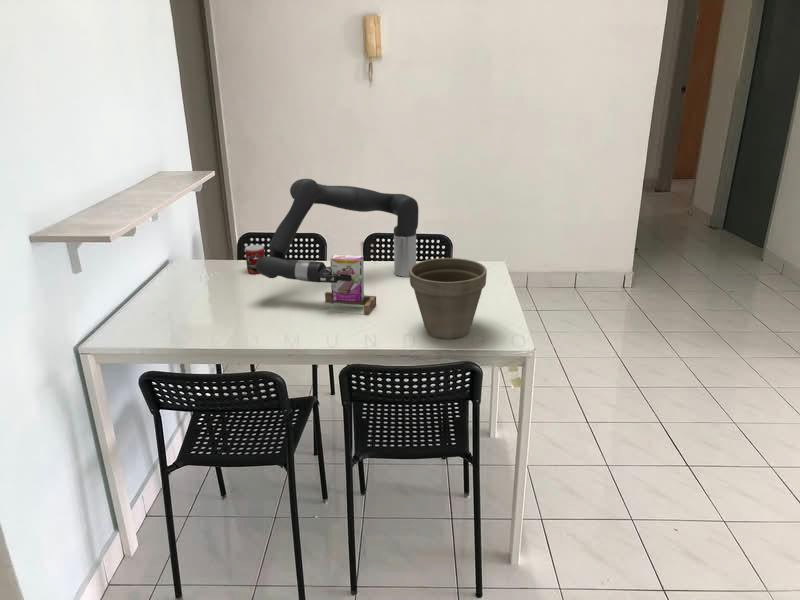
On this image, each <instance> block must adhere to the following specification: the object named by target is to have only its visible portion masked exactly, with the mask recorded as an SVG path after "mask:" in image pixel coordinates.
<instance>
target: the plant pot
mask: <svg viewBox="0 0 800 600" xmlns="http://www.w3.org/2000/svg"><path fill="white" fill-rule="evenodd" d="M487 271H488V270H487V268H486V266H485V265H484V264H482V263H480V262H478V261H475V260H470V259H466V258H457V257H440V258H431V259H425V260H422V261H418V262H416V264H414V265H413V266H411V267H410V269H409V276H410V277H409V284H410V286H411V288H412V289H413V291H414V295H415V298H416V301H417V305H418V308H419V312H420V314H421V319H422V322H423V326H424V328H425V330H426V332H427V334H428V335H430V336H432V337H433V338H437V339H438V338H439V339H443V340H444V339H445V340H448V339H449V340H453V339H460V338H463V337H464V336H466V335H467V334H469V333H470V330H471V328H472V325H473V321H474V318H475V316H476V315H475V314H476V312H477V308H478V304H479V302H480V298H481V295H482V292H483V289H484V288H485V287H486V284H487Z"/></svg>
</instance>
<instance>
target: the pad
mask: <svg viewBox="0 0 800 600" xmlns="http://www.w3.org/2000/svg"><path fill="white" fill-rule="evenodd" d="M332 304H333V305H332V306H331V307H329V308H328V310H327V312H334V313H342V314H343V313H345V314H354V315H363V314H364V305H357V304H346V303H332Z"/></svg>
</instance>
